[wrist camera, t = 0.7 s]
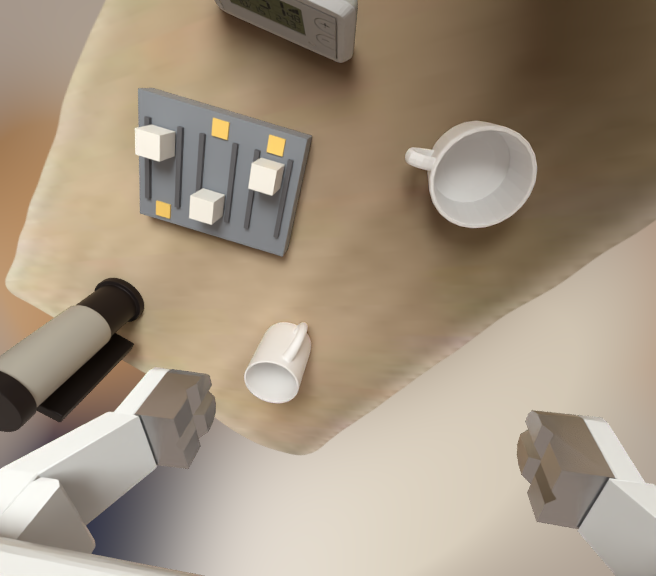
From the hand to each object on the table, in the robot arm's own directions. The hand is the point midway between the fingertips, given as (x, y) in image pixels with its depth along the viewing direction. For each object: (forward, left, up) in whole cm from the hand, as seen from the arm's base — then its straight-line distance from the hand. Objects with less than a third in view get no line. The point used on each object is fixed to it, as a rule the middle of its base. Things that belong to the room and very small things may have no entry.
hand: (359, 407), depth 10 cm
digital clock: (-11, -15, -42) cm, 46 cm away
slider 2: (+12, -20, -38) cm, 45 cm away
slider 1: (+6, -27, -38) cm, 48 cm away
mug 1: (+32, -5, -42) cm, 53 cm away
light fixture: (+37, -36, -42) cm, 67 cm away
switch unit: (+9, -20, -42) cm, 47 cm away
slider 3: (+6, -13, -38) cm, 41 cm away
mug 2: (-1, +9, -42) cm, 43 cm away
